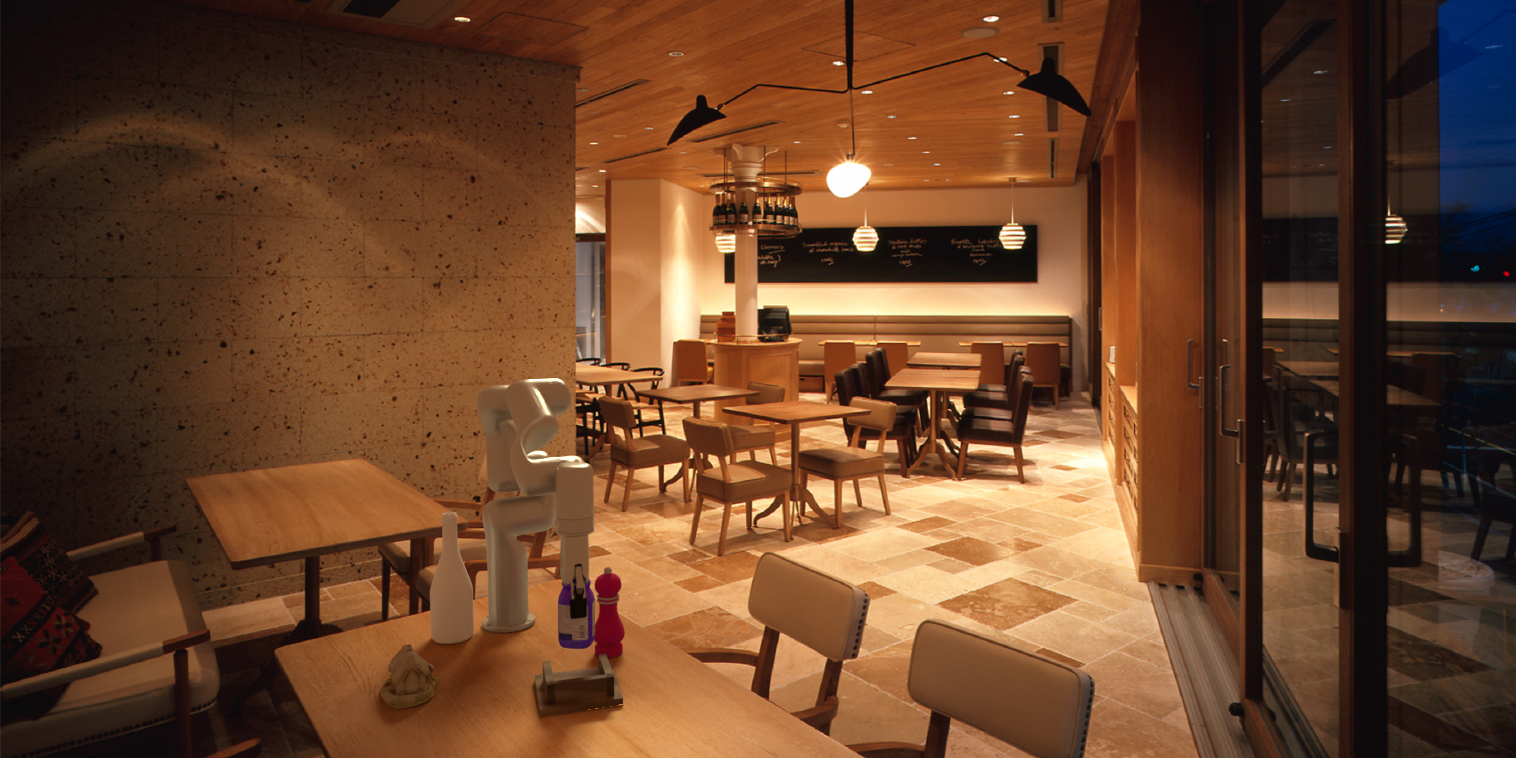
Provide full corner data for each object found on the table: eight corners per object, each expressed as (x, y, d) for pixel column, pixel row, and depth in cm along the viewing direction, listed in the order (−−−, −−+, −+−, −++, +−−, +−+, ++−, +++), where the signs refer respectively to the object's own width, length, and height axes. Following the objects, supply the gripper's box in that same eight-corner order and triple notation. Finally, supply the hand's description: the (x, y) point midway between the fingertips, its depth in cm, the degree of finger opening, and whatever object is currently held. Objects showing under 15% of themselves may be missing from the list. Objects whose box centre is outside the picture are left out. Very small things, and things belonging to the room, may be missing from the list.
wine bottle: (429, 633, 205) (426, 510, 203) (471, 627, 209) (468, 506, 207) (432, 648, 197) (429, 520, 194) (476, 641, 201) (472, 515, 198)
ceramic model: (377, 685, 178) (375, 638, 177) (434, 674, 183) (432, 629, 183) (384, 713, 166) (382, 663, 165) (444, 701, 171) (443, 652, 170)
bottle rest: (534, 681, 179) (534, 656, 179) (611, 672, 184) (610, 647, 184) (539, 717, 164) (539, 689, 164) (623, 705, 169) (622, 678, 169)
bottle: (598, 640, 176) (597, 557, 174) (590, 651, 170) (589, 566, 169) (564, 639, 177) (562, 556, 175) (554, 650, 171) (553, 564, 169)
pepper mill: (621, 659, 191) (620, 572, 189) (589, 659, 191) (588, 571, 189) (627, 646, 198) (626, 562, 196) (596, 646, 198) (595, 561, 197)
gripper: (552, 515, 178) (553, 599, 180) (559, 537, 162) (561, 629, 163) (588, 513, 181) (590, 595, 182) (599, 533, 164) (601, 624, 166)
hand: (576, 610), depth 173 cm, fingers closed on bottle, 6 cm apart
